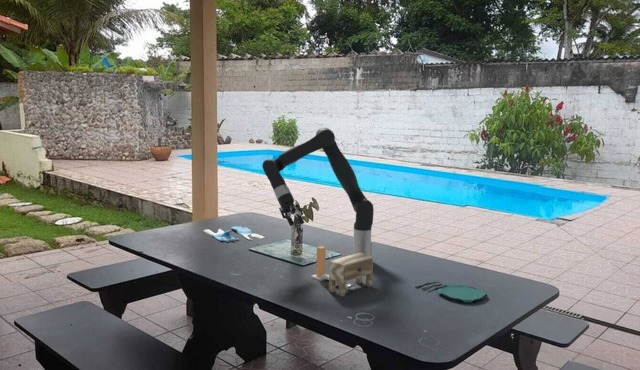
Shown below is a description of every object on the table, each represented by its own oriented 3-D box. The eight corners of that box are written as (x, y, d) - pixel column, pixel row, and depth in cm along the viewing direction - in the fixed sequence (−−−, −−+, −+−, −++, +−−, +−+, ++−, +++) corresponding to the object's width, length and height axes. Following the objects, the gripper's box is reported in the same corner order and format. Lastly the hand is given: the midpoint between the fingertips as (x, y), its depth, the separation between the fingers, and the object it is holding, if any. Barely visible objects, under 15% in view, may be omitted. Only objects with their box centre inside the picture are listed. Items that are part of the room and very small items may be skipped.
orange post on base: (310, 277, 256) (310, 247, 254) (322, 274, 262) (322, 244, 259) (334, 286, 245) (335, 254, 243) (346, 282, 250) (347, 251, 248)
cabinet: (328, 291, 239) (329, 260, 237) (358, 281, 253) (359, 252, 251) (344, 297, 232) (345, 265, 230) (374, 286, 246) (375, 257, 244)
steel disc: (353, 286, 246) (353, 282, 246) (357, 290, 242) (358, 286, 241) (343, 287, 245) (343, 283, 244) (347, 291, 240) (347, 287, 240)
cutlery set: (469, 308, 224) (470, 302, 223) (411, 289, 245) (411, 284, 245) (494, 297, 237) (494, 292, 237) (436, 280, 259) (437, 276, 259)
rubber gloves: (243, 227, 354) (243, 217, 353) (266, 238, 327) (266, 228, 326) (203, 232, 339) (203, 222, 338) (224, 244, 312) (223, 233, 311)
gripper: (280, 192, 260) (294, 222, 256) (297, 191, 272) (311, 219, 268) (269, 200, 264) (283, 229, 260) (287, 198, 276) (300, 226, 272)
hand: (297, 224), depth 264 cm, fingers open, 8 cm apart
